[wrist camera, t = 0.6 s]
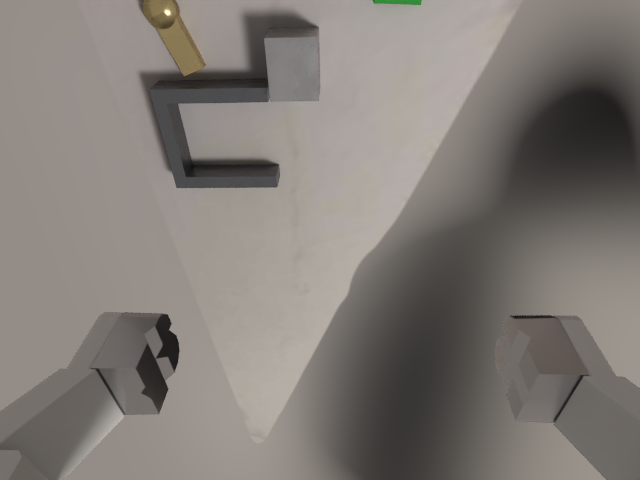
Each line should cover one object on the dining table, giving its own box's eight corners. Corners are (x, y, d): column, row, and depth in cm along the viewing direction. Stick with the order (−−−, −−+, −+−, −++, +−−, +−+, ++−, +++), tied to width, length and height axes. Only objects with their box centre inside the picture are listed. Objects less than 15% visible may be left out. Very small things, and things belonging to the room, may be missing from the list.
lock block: (270, 27, 42) (263, 38, 39) (319, 27, 42) (317, 37, 39) (275, 87, 46) (270, 101, 42) (320, 86, 46) (318, 101, 42)
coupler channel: (158, 80, 46) (148, 89, 44) (270, 78, 45) (266, 87, 43) (183, 175, 53) (176, 187, 51) (280, 175, 53) (277, 187, 50)
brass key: (140, -2, 41) (136, 0, 40) (167, -15, 40) (163, -14, 39) (184, 74, 45) (181, 77, 44) (209, 63, 45) (206, 66, 44)
